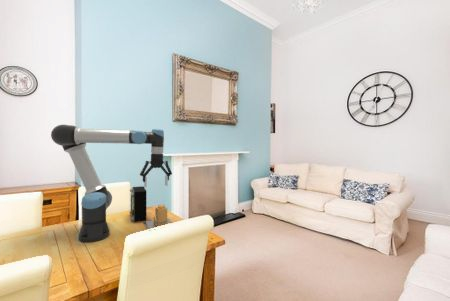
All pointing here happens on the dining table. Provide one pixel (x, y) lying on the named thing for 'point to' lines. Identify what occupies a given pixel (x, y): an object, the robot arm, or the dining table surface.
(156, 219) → the amber glass cylinder
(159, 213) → the cube with dome knob
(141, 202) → the electrical component
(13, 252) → the dining table surface
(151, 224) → the plate
